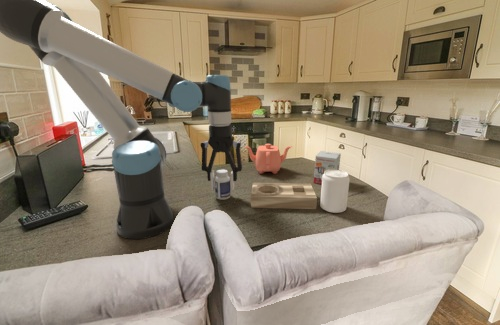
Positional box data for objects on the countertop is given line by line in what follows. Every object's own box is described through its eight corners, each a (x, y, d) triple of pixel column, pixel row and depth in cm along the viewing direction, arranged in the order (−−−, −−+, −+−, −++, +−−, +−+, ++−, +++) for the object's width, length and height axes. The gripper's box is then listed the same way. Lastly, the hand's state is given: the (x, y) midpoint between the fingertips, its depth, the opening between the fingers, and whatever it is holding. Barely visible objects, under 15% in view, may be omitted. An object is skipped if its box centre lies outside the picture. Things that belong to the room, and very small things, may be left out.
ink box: (312, 183, 103) (314, 155, 100) (317, 176, 111) (319, 150, 107) (334, 186, 99) (337, 157, 96) (338, 179, 107) (341, 152, 103)
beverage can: (326, 200, 88) (328, 167, 84) (349, 207, 83) (353, 172, 79) (315, 209, 82) (318, 174, 78) (340, 217, 77) (344, 179, 73)
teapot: (291, 170, 118) (292, 144, 114) (265, 179, 108) (265, 150, 105) (269, 163, 129) (270, 139, 126) (243, 170, 119) (243, 144, 116)
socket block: (316, 209, 82) (317, 197, 80) (250, 207, 83) (250, 196, 82) (310, 193, 93) (310, 183, 92) (252, 192, 94) (252, 182, 93)
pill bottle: (233, 195, 93) (232, 169, 90) (226, 201, 88) (225, 174, 85) (220, 192, 95) (219, 167, 92) (212, 198, 90) (211, 172, 87)
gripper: (250, 122, 87) (250, 185, 93) (194, 122, 88) (198, 184, 95) (248, 126, 79) (249, 194, 86) (187, 126, 81) (193, 192, 87)
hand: (222, 189), depth 90 cm, fingers open, 6 cm apart
